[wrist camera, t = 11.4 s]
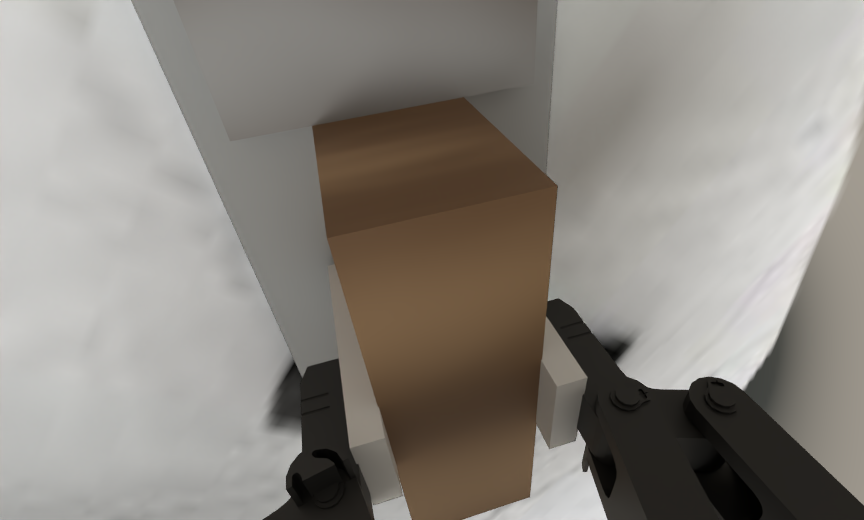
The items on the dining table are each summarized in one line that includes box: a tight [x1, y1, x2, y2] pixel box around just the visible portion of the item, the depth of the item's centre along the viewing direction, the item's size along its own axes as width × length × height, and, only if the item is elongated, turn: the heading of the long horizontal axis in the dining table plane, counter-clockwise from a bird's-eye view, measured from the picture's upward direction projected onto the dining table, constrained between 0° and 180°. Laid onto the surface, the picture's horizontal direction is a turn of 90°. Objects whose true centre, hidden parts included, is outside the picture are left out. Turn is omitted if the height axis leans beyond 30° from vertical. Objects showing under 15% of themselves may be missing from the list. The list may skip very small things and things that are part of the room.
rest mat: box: [131, 0, 557, 378], centre depth 14 cm, size 24×10×1 cm, turn 6°
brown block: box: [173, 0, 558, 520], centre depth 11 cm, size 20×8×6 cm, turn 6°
